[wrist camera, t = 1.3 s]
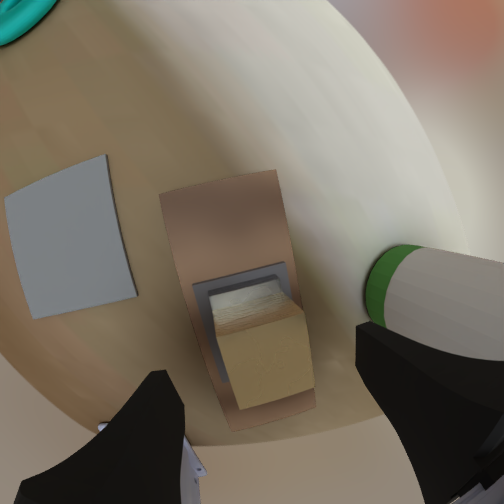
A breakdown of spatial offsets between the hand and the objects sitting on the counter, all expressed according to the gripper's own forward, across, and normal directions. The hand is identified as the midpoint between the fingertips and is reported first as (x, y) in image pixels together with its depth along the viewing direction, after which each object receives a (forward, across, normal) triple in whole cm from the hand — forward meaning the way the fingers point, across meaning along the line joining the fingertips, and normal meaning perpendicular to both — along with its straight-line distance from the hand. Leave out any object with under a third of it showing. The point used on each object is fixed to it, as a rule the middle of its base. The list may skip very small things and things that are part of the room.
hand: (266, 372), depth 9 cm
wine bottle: (+11, -13, +5) cm, 17 cm away
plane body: (+10, 0, +2) cm, 10 cm away
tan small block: (+7, 0, +2) cm, 7 cm away
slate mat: (+9, +12, -6) cm, 17 cm away
